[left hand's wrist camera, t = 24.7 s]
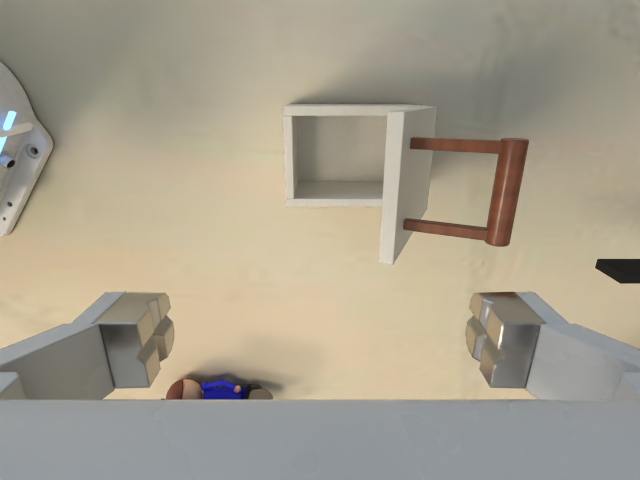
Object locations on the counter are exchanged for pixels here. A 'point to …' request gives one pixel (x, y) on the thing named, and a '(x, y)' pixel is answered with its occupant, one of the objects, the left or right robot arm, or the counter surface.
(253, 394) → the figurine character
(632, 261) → the right robot arm
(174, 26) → the counter surface
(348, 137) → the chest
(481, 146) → the lid
